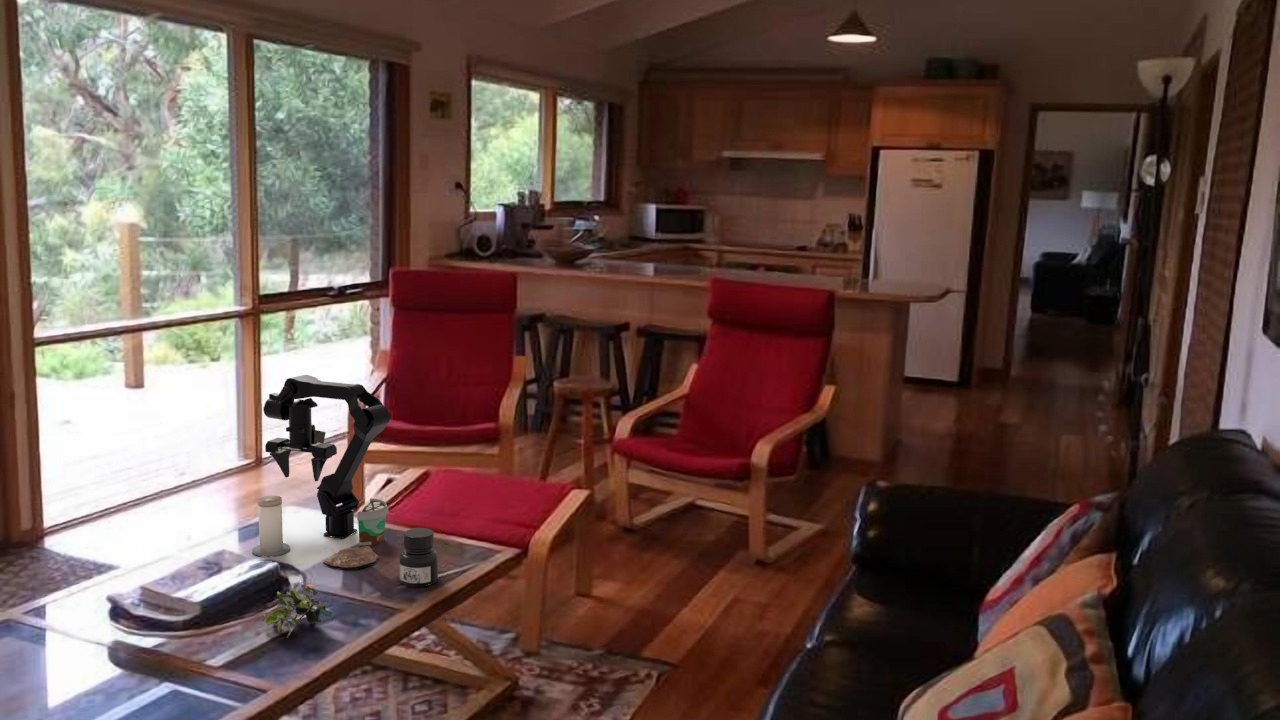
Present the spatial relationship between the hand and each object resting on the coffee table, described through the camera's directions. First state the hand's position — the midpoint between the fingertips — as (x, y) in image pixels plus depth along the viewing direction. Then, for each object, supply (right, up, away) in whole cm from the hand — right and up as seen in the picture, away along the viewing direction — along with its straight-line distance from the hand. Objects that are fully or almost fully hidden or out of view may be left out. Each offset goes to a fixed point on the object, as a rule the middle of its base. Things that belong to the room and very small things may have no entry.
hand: (301, 479), depth 278 cm
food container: (+22, -16, -9) cm, 29 cm away
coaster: (-2, -16, -17) cm, 23 cm away
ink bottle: (+39, -21, -33) cm, 55 cm away
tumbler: (-2, -16, -17) cm, 23 cm away
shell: (+20, -18, -22) cm, 35 cm away
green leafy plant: (+19, -25, -61) cm, 69 cm away
